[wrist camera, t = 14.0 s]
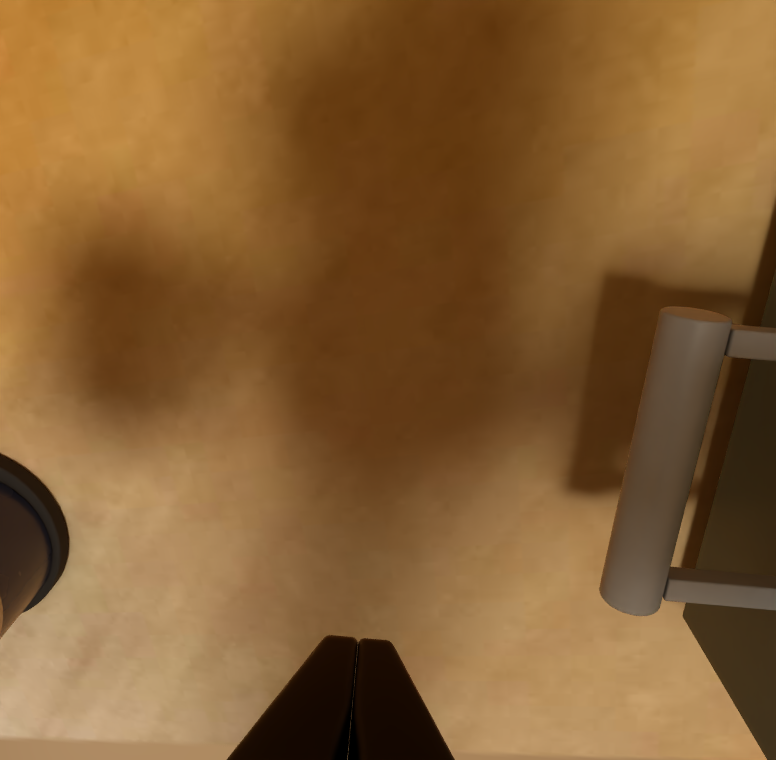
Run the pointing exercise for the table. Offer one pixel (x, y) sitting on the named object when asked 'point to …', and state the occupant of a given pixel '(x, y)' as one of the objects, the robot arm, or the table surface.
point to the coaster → (48, 512)
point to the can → (20, 555)
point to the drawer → (729, 509)
